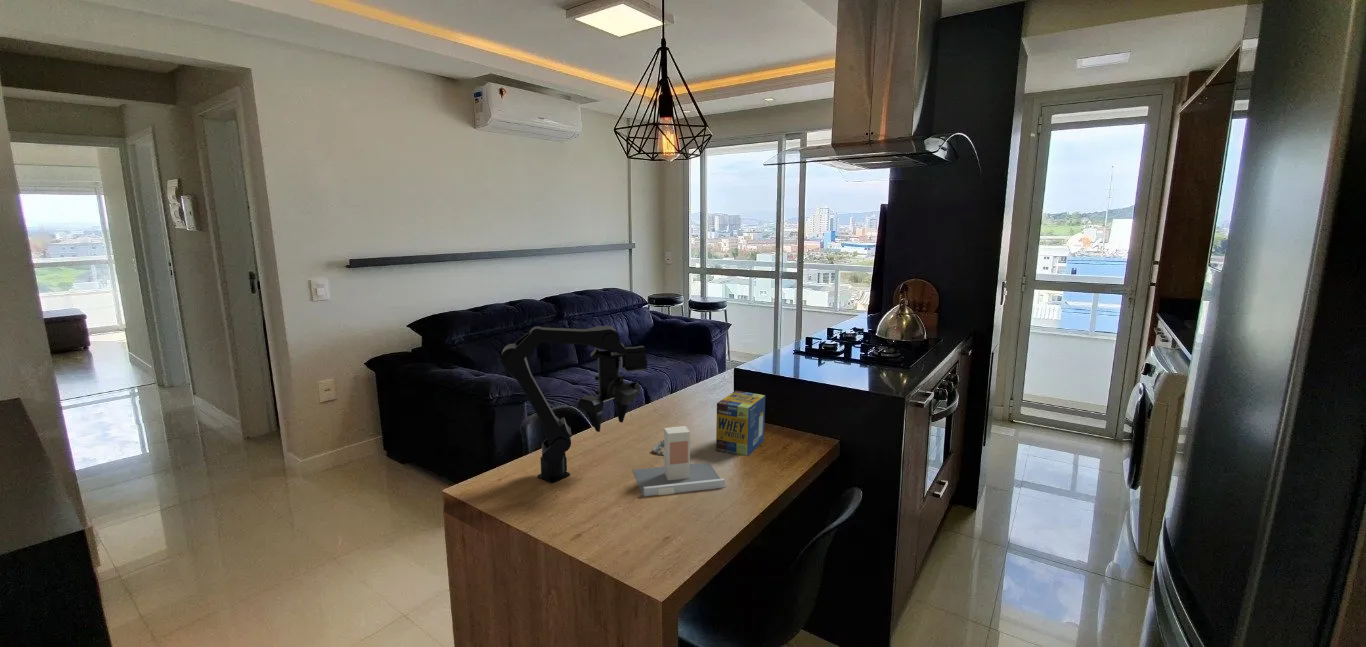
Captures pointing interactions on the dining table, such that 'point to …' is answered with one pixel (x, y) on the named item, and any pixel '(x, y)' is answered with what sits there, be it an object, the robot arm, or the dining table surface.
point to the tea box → (677, 453)
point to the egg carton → (659, 448)
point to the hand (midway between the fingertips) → (609, 426)
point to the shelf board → (677, 480)
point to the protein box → (740, 423)
